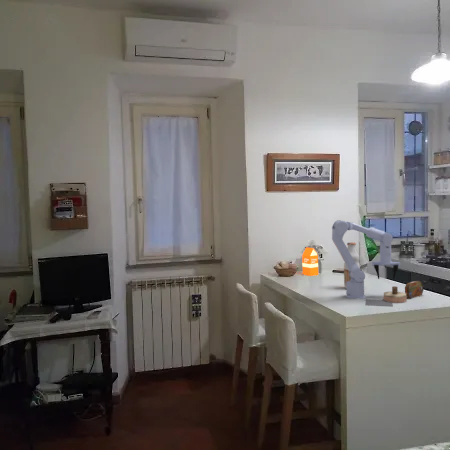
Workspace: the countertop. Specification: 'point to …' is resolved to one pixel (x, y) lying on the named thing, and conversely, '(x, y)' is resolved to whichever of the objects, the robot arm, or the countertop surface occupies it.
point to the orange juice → (310, 262)
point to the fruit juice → (356, 258)
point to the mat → (378, 303)
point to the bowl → (395, 299)
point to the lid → (395, 293)
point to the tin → (414, 289)
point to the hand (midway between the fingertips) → (386, 278)
